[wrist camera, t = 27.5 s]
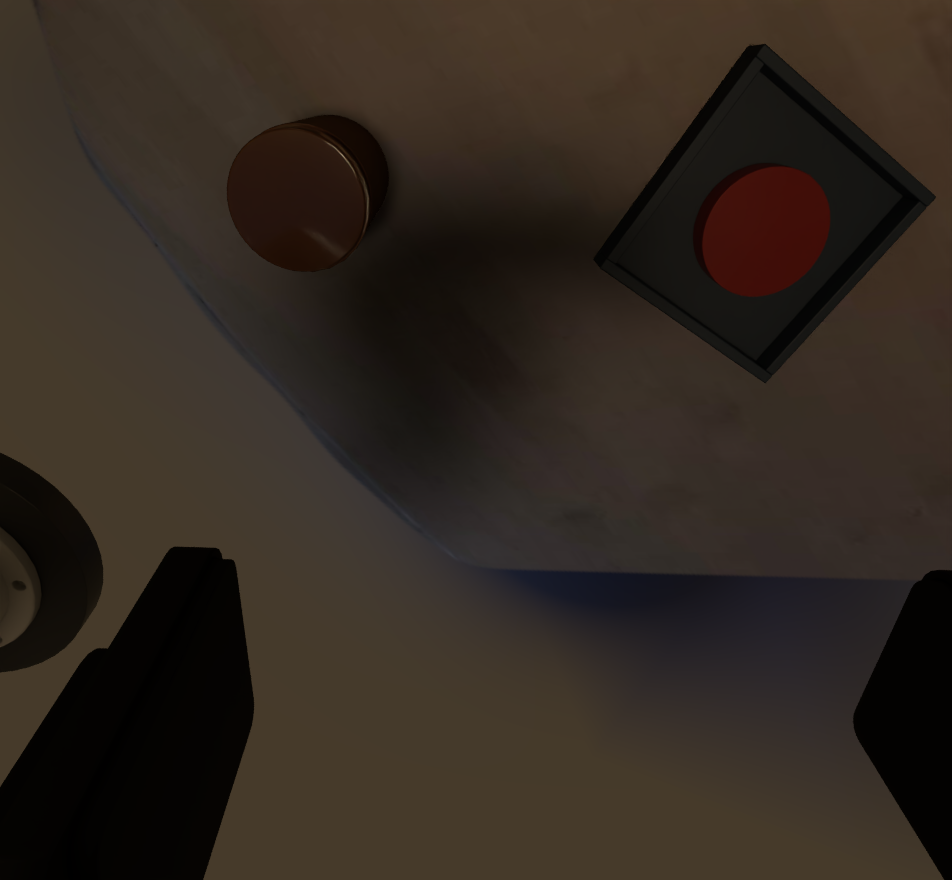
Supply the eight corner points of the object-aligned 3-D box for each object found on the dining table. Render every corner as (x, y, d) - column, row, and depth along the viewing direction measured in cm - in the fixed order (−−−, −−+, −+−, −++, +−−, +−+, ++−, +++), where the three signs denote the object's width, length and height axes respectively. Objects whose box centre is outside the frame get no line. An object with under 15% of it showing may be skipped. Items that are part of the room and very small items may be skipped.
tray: (752, 370, 40) (765, 383, 39) (592, 259, 37) (599, 267, 35) (913, 191, 36) (937, 197, 34) (748, 45, 32) (765, 43, 31)
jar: (356, 251, 37) (327, 300, 28) (261, 191, 35) (200, 224, 27) (409, 157, 34) (394, 181, 26) (310, 89, 33) (261, 92, 25)
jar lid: (753, 134, 34) (766, 136, 32) (842, 208, 36) (858, 213, 34) (667, 246, 36) (676, 253, 35) (754, 310, 38) (766, 319, 37)
